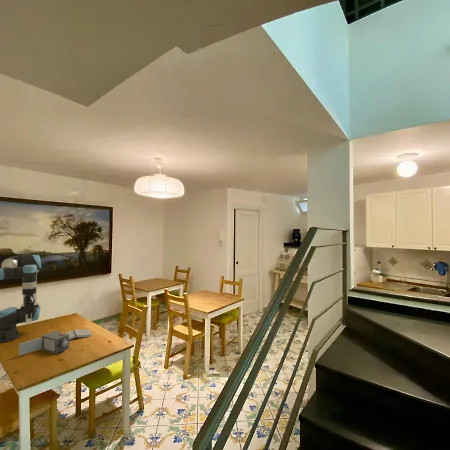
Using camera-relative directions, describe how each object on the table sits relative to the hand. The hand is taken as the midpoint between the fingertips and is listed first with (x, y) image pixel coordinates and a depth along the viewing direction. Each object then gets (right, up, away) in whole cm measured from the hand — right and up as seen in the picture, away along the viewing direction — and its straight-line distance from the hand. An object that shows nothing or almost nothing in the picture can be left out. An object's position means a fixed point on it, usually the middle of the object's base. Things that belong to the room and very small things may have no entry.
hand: (28, 323), depth 168 cm
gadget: (+12, -24, +31) cm, 41 cm away
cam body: (+13, -22, +9) cm, 27 cm away
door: (-1, -21, +3) cm, 21 cm away
